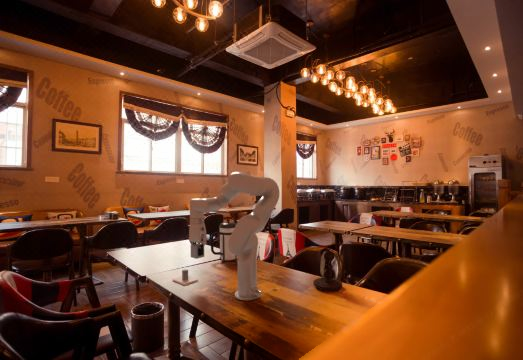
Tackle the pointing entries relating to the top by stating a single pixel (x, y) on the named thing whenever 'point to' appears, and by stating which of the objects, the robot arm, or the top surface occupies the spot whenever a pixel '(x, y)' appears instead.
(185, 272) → the post stand
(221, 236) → the coffee press
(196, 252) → the gray rectangular block
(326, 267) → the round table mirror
